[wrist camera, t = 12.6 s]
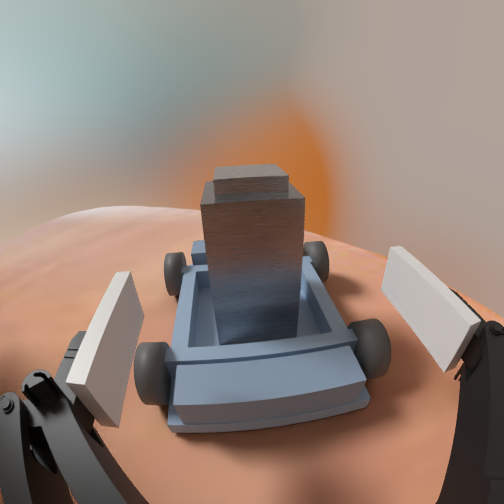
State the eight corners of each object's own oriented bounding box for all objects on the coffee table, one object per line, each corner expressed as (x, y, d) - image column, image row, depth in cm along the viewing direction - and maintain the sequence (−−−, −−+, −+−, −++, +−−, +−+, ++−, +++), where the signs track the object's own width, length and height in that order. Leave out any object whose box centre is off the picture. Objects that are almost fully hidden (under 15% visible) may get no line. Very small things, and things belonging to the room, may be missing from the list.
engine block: (219, 345, 20) (198, 183, 15) (218, 299, 26) (204, 166, 20) (296, 337, 21) (305, 177, 15) (282, 293, 26) (283, 162, 20)
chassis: (149, 431, 14) (124, 397, 12) (176, 274, 32) (170, 241, 30) (385, 400, 15) (407, 361, 13) (311, 263, 33) (313, 230, 31)
